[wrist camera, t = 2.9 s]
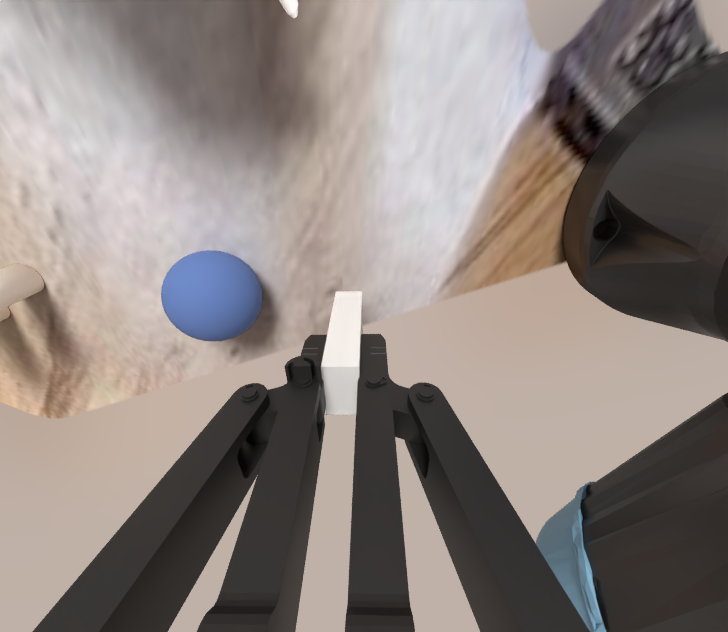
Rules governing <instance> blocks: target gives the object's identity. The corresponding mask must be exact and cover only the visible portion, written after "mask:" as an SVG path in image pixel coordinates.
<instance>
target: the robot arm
mask: <svg viewBox="0 0 728 632" xmlns="http://www.w3.org/2000/svg"><path fill="white" fill-rule="evenodd" d="M563 238H564V251H565V256H566V260H567V263H568V266H569V268H570V270H571V272H572V274H573V276H574V277H575V279H576V280H577V281H578V282H579V284H580V285H581V286H582V287H583V288H584V289H586V290H587V291H588V292H589V293H591V294H592V295H594V296H595V297H597V298H598V299H599V300H601V301H602V302H604V303H605V304H606V305H608V306H610V307H612V308H613V309H615V310H618V311H620V312H622V313H624V314H627V315H630V316H633V317H637V318H641V319H645V320H649V321H653V322H656V323H660V324H664V325H668V326H672V327H676V328H680V329H683V330H688V331H692V332H695V333H699V334H703V335H707V336H710V337H714V338H718V339H722V340H725V341H727V342H728V51H727V52H724V53H722V54H719V55H716V56H713V57H711V58H709V59H706V60H704V61H702V62H700V63H698V64H696V65H694V66H692V67H690V68H688V69H686V70H685V71H683V72H681V73H679V74H678V75H676V76H674V77H673V78H671V79H670V80H668V81H667V82H665V83H664V84H662V85H661V86H660V87H658V88H657V89H656V90H654V91H653V92H652V93H650V94H649V95H648V96H647V97H645V98H644V99H643V100H642V101H641V102H639V103H638V104H637V105H636V106H635V107H634V108H633V109H632V110H631V111H630V112H629V113H628V114H627V115H626V116H625V117H624V118H623V119H622V120H621V121H620V122H619V123H618V124H617V125H616V126H615V127H614V128H613V129H612V131H611V132H610V133H609V134H608V135H607V137H606V138H605V139H604V140H603V142H602V143H601V144H600V146H599V147H598V148H597V150H596V151H595V153H594V154H593V156H592V157H591V159H590V160H589V162H588V163H587V165H586V167H585V169H584V170H583V172H582V174H581V176H580V178H579V180H578V182H577V184H576V186H575V189H574V191H573V194H572V196H571V199H570V202H569V206H568V209H567V213H566V218H565V224H564V235H563ZM285 371H286V376H287V384H285V385H284V386H281V387H278V388H274V389H270V390H267V389H266V387H265V386H264V385H261V384H259V383H252V384H248V385H245V386H243V387H241V388H239V389H238V390H237V391H236V392H235V393H234V394H233V395H232V396H231V397H230V399H229V400H228V401H227V402H226V403H225V405H224V406H223V407H222V408H221V409H220V410H219V412H218V413H217V414H216V415H215V416H214V418H213V419H212V420H211V421H210V422H209V423H208V425H207V426H206V427H205V428H204V430H203V431H202V432H201V433H200V434H199V435H198V437H197V438H196V439H195V440H194V441H193V442H192V444H191V445H190V446H189V447H188V448H187V450H186V451H185V452H184V453H183V454H182V455H181V457H180V458H179V459H178V460H177V461H176V463H175V464H174V465H173V466H172V467H171V469H170V470H169V471H168V472H167V473H166V474H165V476H164V477H163V478H162V479H161V480H160V482H159V483H158V484H157V485H156V486H155V487H154V489H153V490H152V491H151V492H150V493H149V494H148V496H147V497H146V498H145V499H144V501H143V502H142V503H141V504H140V505H139V506H138V508H137V509H136V510H135V511H134V512H133V514H132V515H131V516H130V517H129V518H128V519H127V521H126V522H125V523H124V524H123V525H122V527H121V528H120V529H119V530H118V531H117V532H116V534H115V535H114V536H113V537H112V538H111V539H110V541H109V542H108V543H107V544H106V546H105V547H104V548H103V549H102V550H101V551H100V553H99V554H98V555H97V556H96V557H95V559H94V560H93V561H92V562H91V563H90V564H89V566H88V567H87V568H86V569H85V570H84V572H83V573H82V574H81V575H80V576H79V577H78V579H77V580H76V581H75V582H74V583H73V585H72V586H71V587H70V588H69V589H68V590H67V592H66V593H65V594H64V595H63V596H62V598H61V599H60V600H59V601H58V602H57V603H56V605H55V606H54V607H53V608H52V610H51V611H50V612H49V613H48V614H47V615H46V616H45V618H44V619H43V620H42V621H41V622H40V624H39V625H38V626H37V627H36V628H35V630H34V631H33V632H168V630H169V628H170V626H171V625H172V623H173V621H174V619H175V618H176V616H177V614H178V613H179V611H180V609H181V607H182V606H183V604H184V602H185V600H186V598H187V597H188V595H189V593H190V592H191V590H192V588H193V586H194V585H195V583H196V581H197V579H198V578H199V576H200V574H201V572H202V571H203V569H204V567H205V565H206V563H207V562H208V560H209V558H210V556H211V555H212V553H213V551H214V550H215V548H216V546H217V545H218V543H219V541H220V539H221V538H222V536H223V534H224V532H225V531H226V529H227V527H228V525H229V524H230V522H231V520H232V518H233V517H234V515H235V513H236V511H237V510H238V508H239V506H240V504H241V502H242V501H243V499H244V497H245V496H246V494H247V492H248V490H249V489H250V487H251V485H252V484H253V482H254V480H255V478H256V477H257V479H256V482H255V485H254V488H253V491H252V495H251V498H250V501H249V504H248V507H247V510H246V513H245V516H244V520H243V523H242V526H241V529H240V532H239V535H238V538H237V541H236V545H235V548H234V551H233V554H232V557H231V560H230V563H229V566H228V569H227V572H226V576H225V579H224V582H223V585H222V588H221V591H220V594H219V597H218V599H217V602H216V603H215V605H214V607H212V608H211V609H210V610H209V611H208V612H207V613H206V614H205V616H204V618H203V620H202V621H201V623H200V625H199V628H198V630H197V632H295V629H296V622H297V615H298V608H299V601H300V594H301V587H302V581H303V573H304V565H305V560H306V552H307V546H308V539H309V532H310V525H311V518H312V511H313V504H314V497H315V490H316V483H317V476H318V469H319V463H320V456H321V449H322V442H323V435H324V428H325V421H324V413H325V410H326V415H356V430H355V454H354V476H353V497H352V521H351V543H350V566H349V587H348V605H347V613H346V624H345V632H415V629H414V622H413V615H412V612H411V608H410V602H409V591H408V580H407V568H406V557H405V545H404V534H403V523H402V511H401V499H400V488H399V478H398V465H397V455H396V443H395V437H398V438H401V439H404V440H405V443H406V446H407V448H408V451H409V453H410V456H411V458H412V461H413V463H414V466H415V468H416V471H417V473H418V476H419V478H420V481H421V483H422V486H423V488H424V491H425V493H426V496H427V499H428V501H429V503H430V506H431V509H432V511H433V514H434V516H435V519H436V521H437V524H438V526H439V529H440V531H441V534H442V536H443V539H444V541H445V544H446V546H447V548H448V551H449V554H450V556H451V559H452V561H453V564H454V566H455V569H456V571H457V574H458V576H459V579H460V581H461V584H462V586H463V589H464V591H465V594H466V597H467V599H468V601H469V604H470V607H471V609H472V612H473V614H474V617H475V619H476V622H477V624H478V627H479V629H480V632H728V393H727V394H725V395H723V396H721V397H720V398H718V399H717V400H716V401H714V402H712V403H711V404H709V405H708V406H707V407H705V408H704V409H702V410H701V411H699V412H698V413H696V414H695V415H693V416H692V417H691V418H689V419H687V420H686V421H685V422H683V423H682V424H680V425H679V426H677V427H676V428H675V429H673V430H672V431H670V432H668V433H667V434H665V435H664V436H663V437H661V438H660V439H658V440H657V441H655V442H654V443H652V444H651V445H650V446H648V447H646V448H645V449H644V450H642V451H641V452H639V453H638V454H636V455H635V456H633V457H632V458H630V459H629V460H627V461H626V462H625V463H623V464H622V465H620V466H619V467H617V468H616V469H615V470H613V471H611V472H610V473H609V474H607V475H605V476H604V477H602V478H601V479H600V480H598V481H597V482H589V483H587V484H585V485H584V486H583V487H581V488H580V489H579V490H578V491H577V494H576V496H575V498H574V499H573V500H572V501H571V502H569V503H568V504H567V505H566V506H564V508H562V509H561V510H560V511H558V512H557V513H556V514H555V515H553V516H552V517H551V518H550V519H549V520H548V521H547V522H546V523H545V525H544V526H543V527H542V529H541V531H540V533H539V535H538V538H537V540H536V544H535V542H534V540H533V539H532V537H531V535H530V534H529V532H528V531H527V529H526V527H525V526H524V524H523V523H522V521H521V519H520V518H519V516H518V515H517V513H516V511H515V510H514V508H513V506H512V505H511V503H510V502H509V500H508V498H507V497H506V495H505V493H504V492H503V490H502V489H501V487H500V486H499V484H498V482H497V481H496V479H495V477H494V476H493V474H492V472H491V471H490V469H489V468H488V466H487V464H486V463H485V461H484V460H483V458H482V456H481V455H480V453H479V451H478V450H477V448H476V447H475V445H474V444H473V442H472V440H471V439H470V437H469V435H468V434H467V432H466V430H465V429H464V427H463V426H462V424H461V422H460V421H459V419H458V418H457V416H456V414H455V413H454V411H453V410H452V408H451V406H450V405H449V403H448V401H447V400H446V398H445V397H444V395H443V393H442V392H441V391H440V390H439V388H438V387H436V386H434V385H432V384H429V383H417V384H414V385H413V386H412V387H411V388H410V389H409V388H405V387H402V386H399V385H397V384H395V383H394V382H393V381H392V380H391V379H390V378H389V375H388V365H387V354H386V342H385V339H384V338H383V336H382V335H381V334H362V292H336V294H335V299H334V304H333V309H332V314H331V319H330V324H329V329H328V334H327V335H310V336H309V337H308V338H307V339H306V340H305V343H304V346H303V349H302V353H301V356H298V357H295V358H293V359H291V360H290V361H288V362H287V364H286V365H285ZM257 475H258V476H257Z"/></svg>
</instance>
